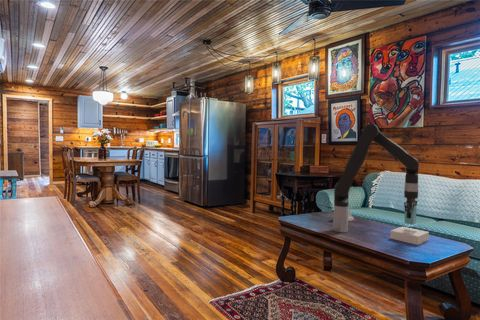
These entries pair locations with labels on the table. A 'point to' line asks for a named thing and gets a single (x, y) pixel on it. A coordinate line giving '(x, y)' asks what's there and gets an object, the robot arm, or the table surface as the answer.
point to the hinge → (350, 215)
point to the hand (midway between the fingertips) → (410, 217)
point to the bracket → (413, 216)
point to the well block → (409, 235)
